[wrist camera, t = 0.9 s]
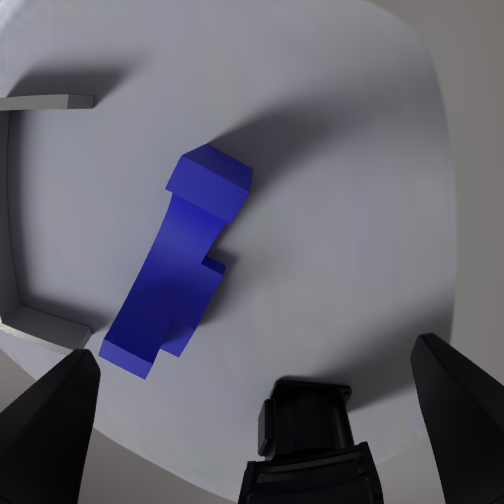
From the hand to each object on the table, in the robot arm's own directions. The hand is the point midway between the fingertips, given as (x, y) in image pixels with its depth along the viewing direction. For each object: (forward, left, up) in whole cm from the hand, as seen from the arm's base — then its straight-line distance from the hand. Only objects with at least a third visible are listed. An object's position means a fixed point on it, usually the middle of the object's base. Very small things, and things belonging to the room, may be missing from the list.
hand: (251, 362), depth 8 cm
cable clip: (+3, +3, -12) cm, 13 cm away
